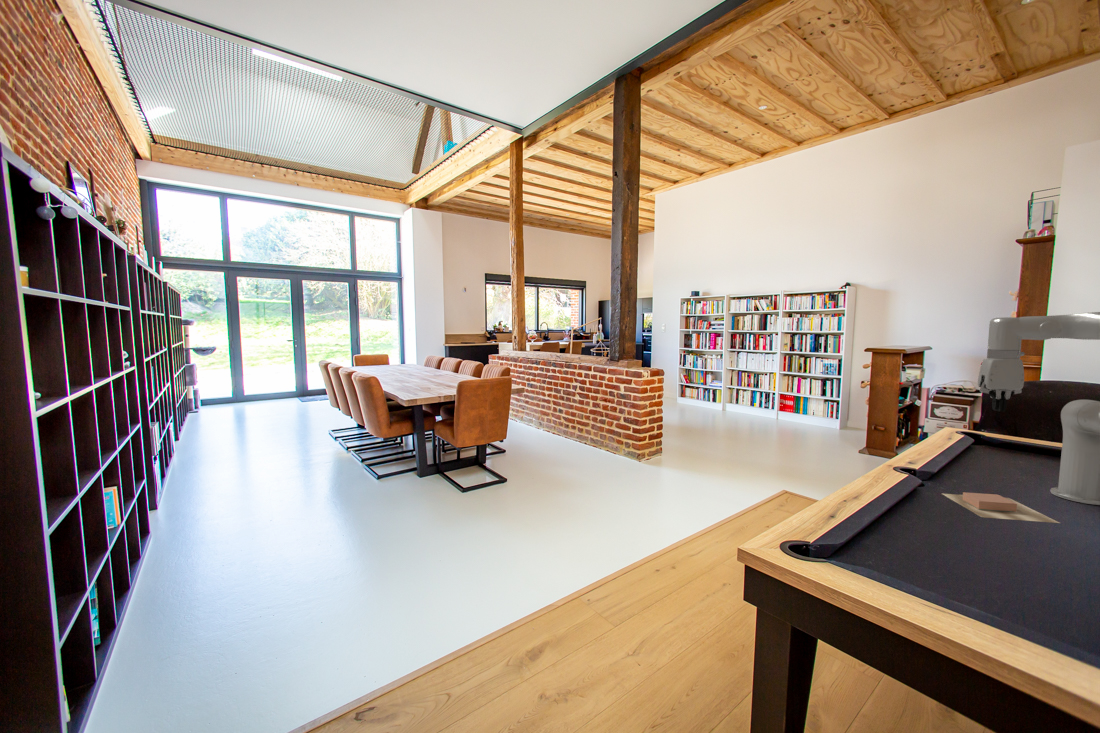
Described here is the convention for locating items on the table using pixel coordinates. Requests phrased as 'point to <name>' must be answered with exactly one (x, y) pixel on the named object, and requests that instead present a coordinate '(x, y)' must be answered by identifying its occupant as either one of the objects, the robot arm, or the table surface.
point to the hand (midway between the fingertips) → (998, 410)
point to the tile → (989, 502)
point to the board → (1020, 514)
